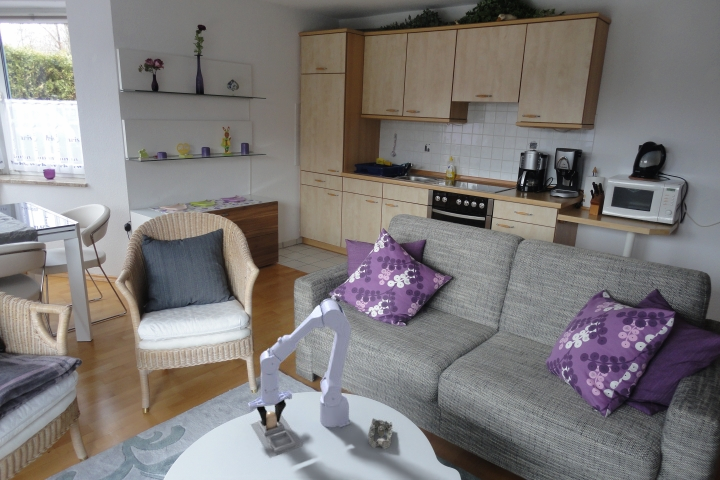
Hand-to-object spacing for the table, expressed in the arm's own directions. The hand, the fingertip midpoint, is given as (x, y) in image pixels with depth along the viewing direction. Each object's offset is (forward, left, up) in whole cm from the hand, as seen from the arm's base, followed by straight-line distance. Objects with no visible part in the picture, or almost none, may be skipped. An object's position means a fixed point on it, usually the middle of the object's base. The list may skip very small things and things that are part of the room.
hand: (270, 422), depth 158 cm
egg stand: (0, +4, -3) cm, 5 cm away
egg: (0, 0, -2) cm, 2 cm away
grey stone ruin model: (-30, +21, -3) cm, 37 cm away
